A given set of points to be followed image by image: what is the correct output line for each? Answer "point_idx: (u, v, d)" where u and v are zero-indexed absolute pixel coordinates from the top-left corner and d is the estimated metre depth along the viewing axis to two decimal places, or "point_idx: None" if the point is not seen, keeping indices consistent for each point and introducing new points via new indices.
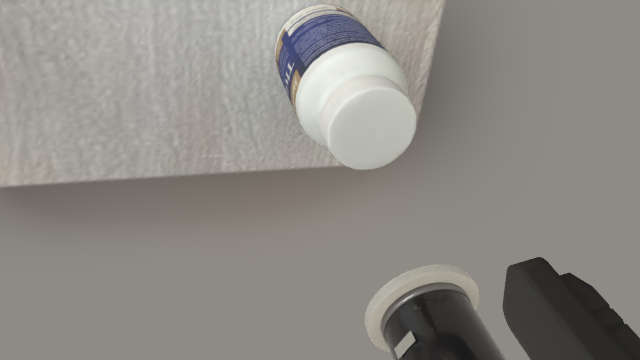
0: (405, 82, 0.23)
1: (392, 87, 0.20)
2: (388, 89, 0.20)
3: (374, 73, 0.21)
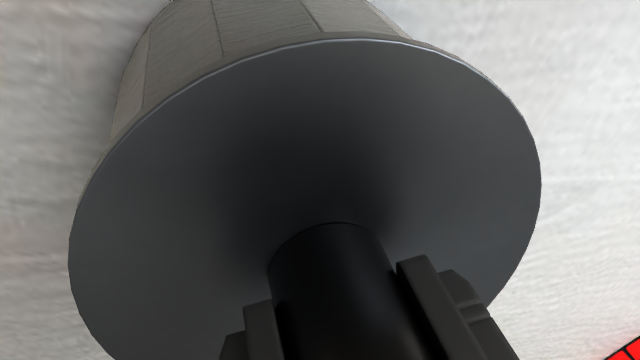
0: None
1: None
2: None
3: None
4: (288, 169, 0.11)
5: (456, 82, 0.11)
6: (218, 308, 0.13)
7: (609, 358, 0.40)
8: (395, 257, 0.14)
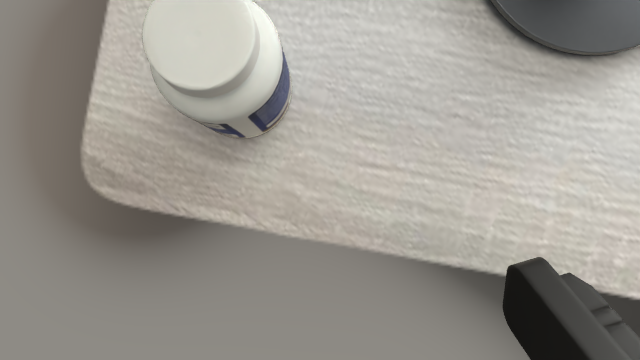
0: (230, 113, 0.19)
1: (249, 61, 0.17)
2: (250, 52, 0.17)
3: (253, 69, 0.19)
4: None
5: None
6: None
7: None
8: None
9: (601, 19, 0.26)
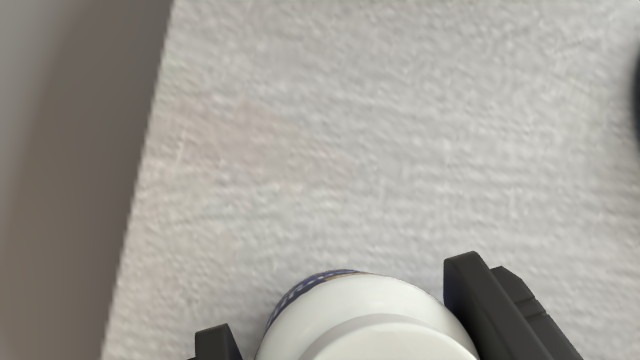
0: None
1: None
2: None
3: None
4: None
5: None
6: None
7: None
8: None
9: None
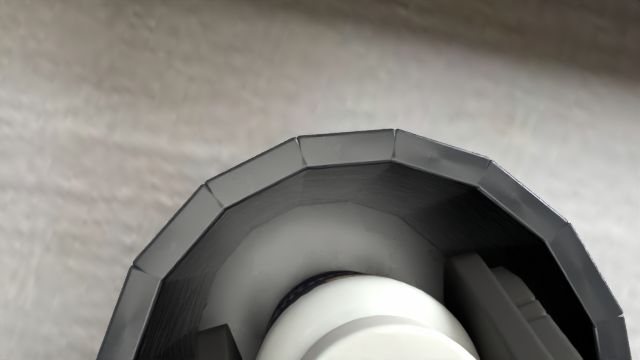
0: None
1: None
2: None
3: None
4: None
5: None
6: None
7: None
8: None
9: None
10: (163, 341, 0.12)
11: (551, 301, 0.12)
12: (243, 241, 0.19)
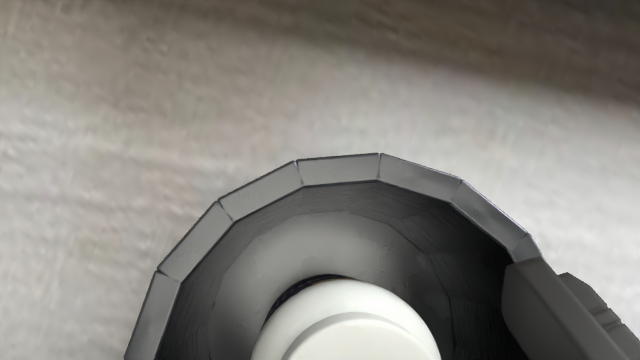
0: None
1: None
2: None
3: None
4: None
5: None
6: None
7: None
8: None
9: None
10: (180, 335, 0.14)
11: None
12: (247, 247, 0.20)
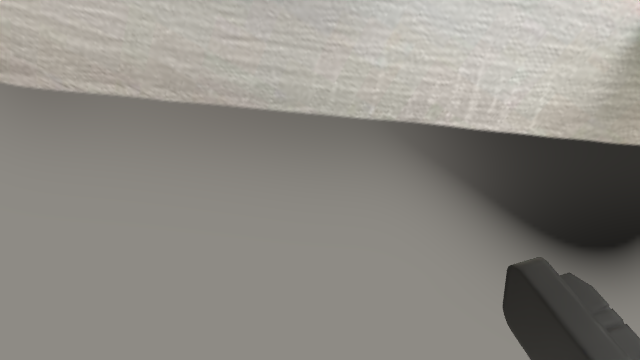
0: None
1: None
2: None
3: None
4: None
5: None
6: None
7: None
8: None
9: None
10: None
11: None
12: None
